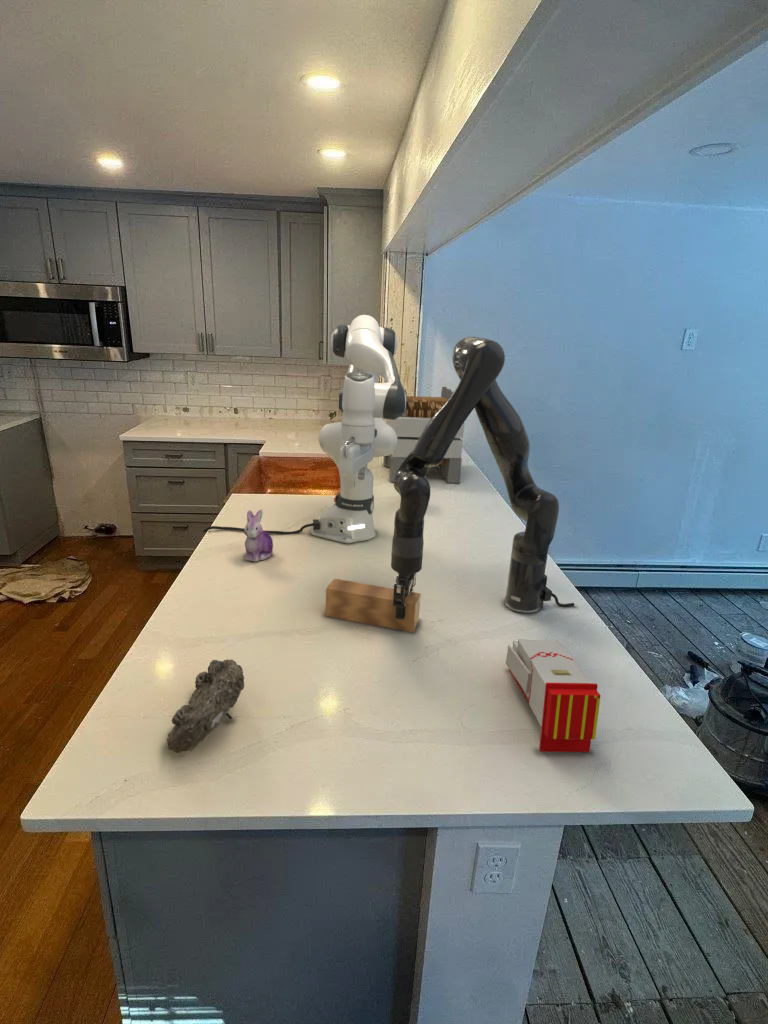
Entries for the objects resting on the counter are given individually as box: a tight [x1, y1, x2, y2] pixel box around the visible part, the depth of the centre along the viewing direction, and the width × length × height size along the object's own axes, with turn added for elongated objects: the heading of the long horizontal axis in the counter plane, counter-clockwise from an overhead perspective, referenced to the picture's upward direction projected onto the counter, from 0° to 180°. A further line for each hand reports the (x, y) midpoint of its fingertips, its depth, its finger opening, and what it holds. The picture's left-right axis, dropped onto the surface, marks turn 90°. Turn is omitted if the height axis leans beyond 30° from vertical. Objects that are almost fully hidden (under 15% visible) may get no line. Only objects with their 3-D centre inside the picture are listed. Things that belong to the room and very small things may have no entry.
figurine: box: [243, 508, 274, 562], centre depth 175 cm, size 9×10×15 cm
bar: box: [325, 578, 422, 633], centre depth 144 cm, size 23×6×8 cm, turn 74°
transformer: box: [383, 386, 465, 484], centre depth 268 cm, size 34×33×41 cm
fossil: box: [166, 658, 245, 754], centre depth 106 cm, size 22×10×15 cm
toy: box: [505, 638, 602, 753], centre depth 114 cm, size 12×13×30 cm
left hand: (356, 483), depth 157 cm, fingers open, 8 cm apart
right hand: (403, 611), depth 142 cm, fingers open, 6 cm apart
